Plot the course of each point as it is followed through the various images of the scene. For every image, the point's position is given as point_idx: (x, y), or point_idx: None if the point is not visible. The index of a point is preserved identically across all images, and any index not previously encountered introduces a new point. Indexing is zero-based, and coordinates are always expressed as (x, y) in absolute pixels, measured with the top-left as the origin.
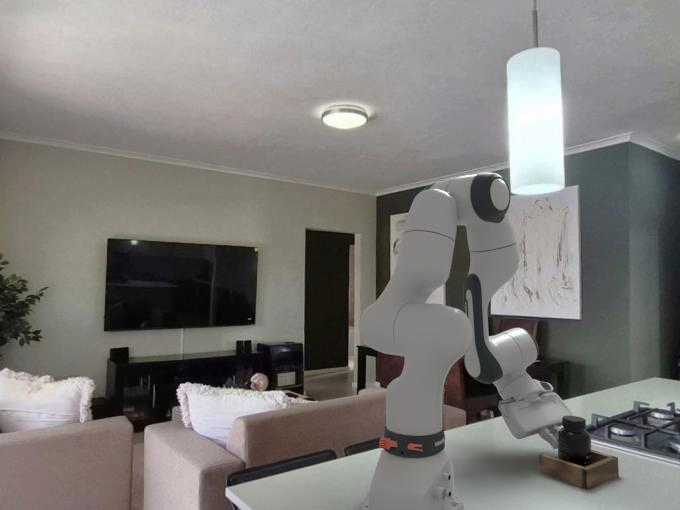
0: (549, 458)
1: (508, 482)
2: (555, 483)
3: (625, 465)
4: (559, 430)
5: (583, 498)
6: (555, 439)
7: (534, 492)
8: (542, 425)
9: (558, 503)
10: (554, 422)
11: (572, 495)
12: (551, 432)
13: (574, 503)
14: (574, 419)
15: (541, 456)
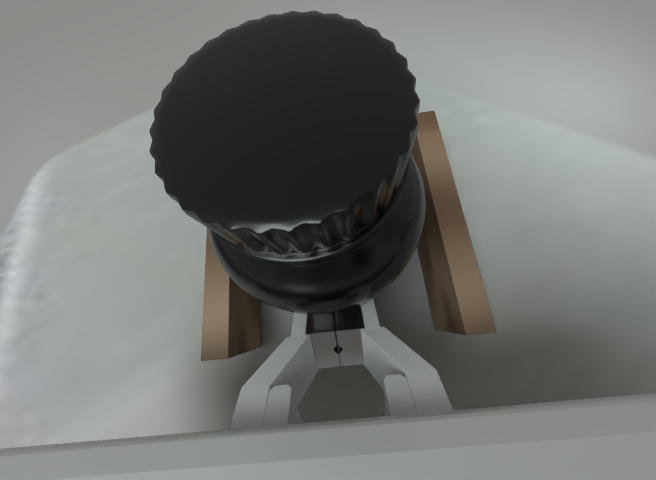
0: (477, 266)
1: (650, 322)
2: (471, 231)
3: (138, 222)
4: (387, 264)
5: (473, 129)
6: (369, 321)
7: (598, 214)
8: (507, 417)
9: (572, 135)
10: (261, 433)
11: (489, 152)
12: (300, 422)
13: (524, 119)
14: (320, 67)
15: (487, 314)
